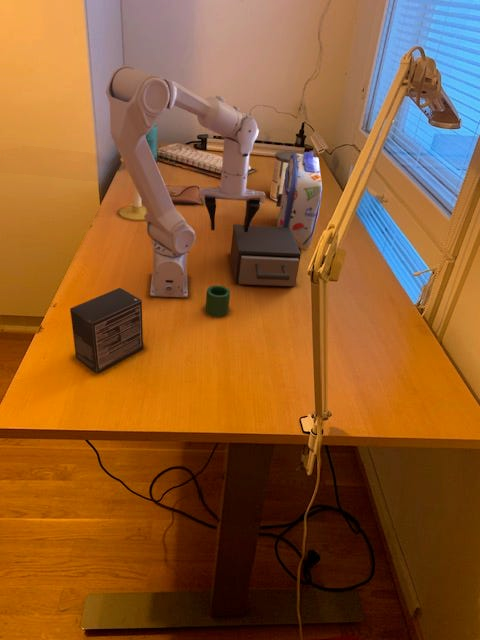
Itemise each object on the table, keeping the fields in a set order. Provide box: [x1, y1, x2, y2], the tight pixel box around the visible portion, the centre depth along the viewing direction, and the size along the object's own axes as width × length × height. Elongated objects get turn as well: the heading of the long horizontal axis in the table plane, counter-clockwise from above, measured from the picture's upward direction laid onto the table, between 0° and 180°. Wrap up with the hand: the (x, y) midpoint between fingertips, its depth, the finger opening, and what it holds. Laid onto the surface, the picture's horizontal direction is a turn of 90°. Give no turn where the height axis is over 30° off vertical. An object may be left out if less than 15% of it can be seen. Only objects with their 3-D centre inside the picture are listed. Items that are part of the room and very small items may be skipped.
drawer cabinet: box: [229, 223, 302, 285], centre depth 118 cm, size 15×14×8 cm
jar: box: [205, 284, 231, 318], centre depth 101 cm, size 5×5×5 cm
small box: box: [69, 287, 145, 374], centre depth 85 cm, size 11×6×10 cm, turn 141°
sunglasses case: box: [165, 184, 203, 206], centre depth 152 cm, size 18×7×7 cm
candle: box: [118, 156, 147, 221], centre depth 132 cm, size 10×10×32 cm
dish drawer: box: [239, 254, 300, 287], centre depth 114 cm, size 19×13×7 cm
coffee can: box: [269, 150, 304, 202], centre depth 161 cm, size 10×10×14 cm
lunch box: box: [275, 151, 323, 250], centre depth 134 cm, size 28×10×22 cm, turn 176°
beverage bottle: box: [146, 123, 159, 165], centre depth 167 cm, size 6×7×20 cm
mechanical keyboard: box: [157, 142, 257, 179], centre depth 186 cm, size 38×19×3 cm, turn 61°
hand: (229, 229), depth 114 cm, fingers open, 7 cm apart
